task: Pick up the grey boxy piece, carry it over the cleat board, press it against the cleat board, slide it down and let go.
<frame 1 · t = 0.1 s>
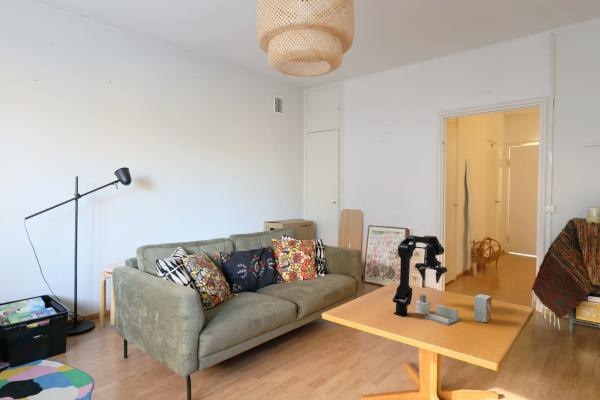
hand: (430, 281, 218), 15 cm above the table, fingers open, 9 cm apart
cleat board: (442, 318, 194), on the table
grey boxy piece: (422, 312, 205), on the table
small box: (482, 320, 193), on the table
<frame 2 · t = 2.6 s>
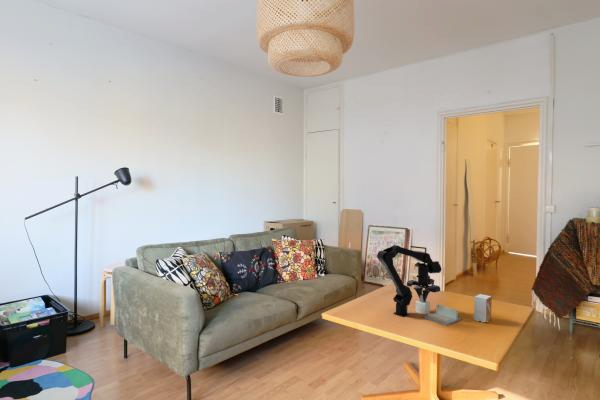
hand: (422, 300, 205), 7 cm above the table, fingers closed on grey boxy piece
grey boxy piece: (422, 312, 205), on the table, touching gripper
everything else where it was.
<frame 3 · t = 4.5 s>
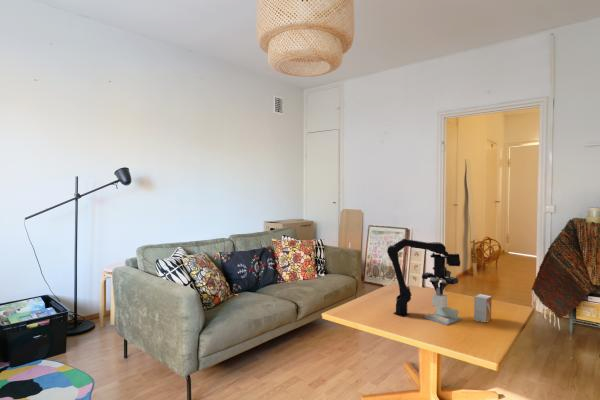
hand: (439, 293, 196), 13 cm above the table, fingers closed on grey boxy piece
grey boxy piece: (439, 305, 196), point 6 cm above the table, touching gripper
everything else where it was.
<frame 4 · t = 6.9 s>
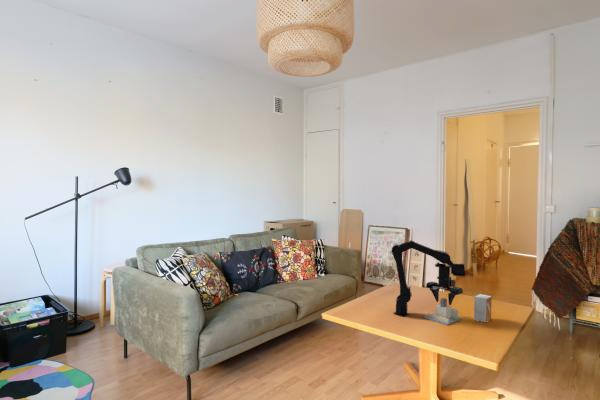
hand: (443, 303, 195), 8 cm above the table, fingers open, 7 cm apart
grey boxy piece: (443, 317, 195), point 1 cm above the table, touching cleat board
everything else where it was.
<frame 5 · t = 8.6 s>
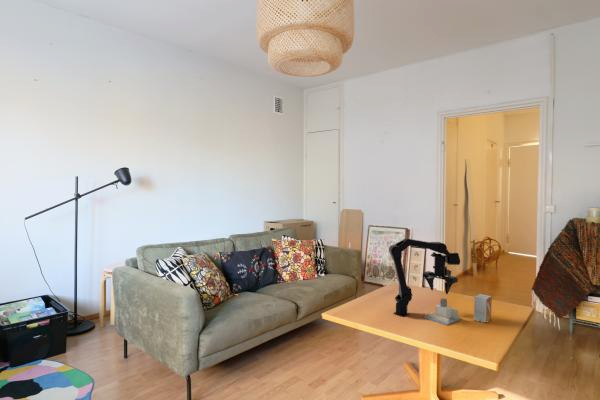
hand: (439, 292, 200), 13 cm above the table, fingers open, 9 cm apart
nothing on the table moved.
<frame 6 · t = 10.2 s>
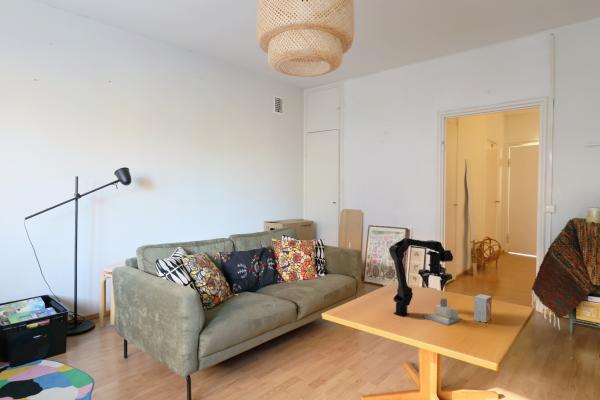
hand: (434, 289, 207), 13 cm above the table, fingers open, 9 cm apart
nothing on the table moved.
at the end: grey boxy piece 0.2 cm off-centre on the cleat board, point 0.8 cm above the cleat board's base; grey boxy piece tilted 0°; the gripper is holding nothing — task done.
